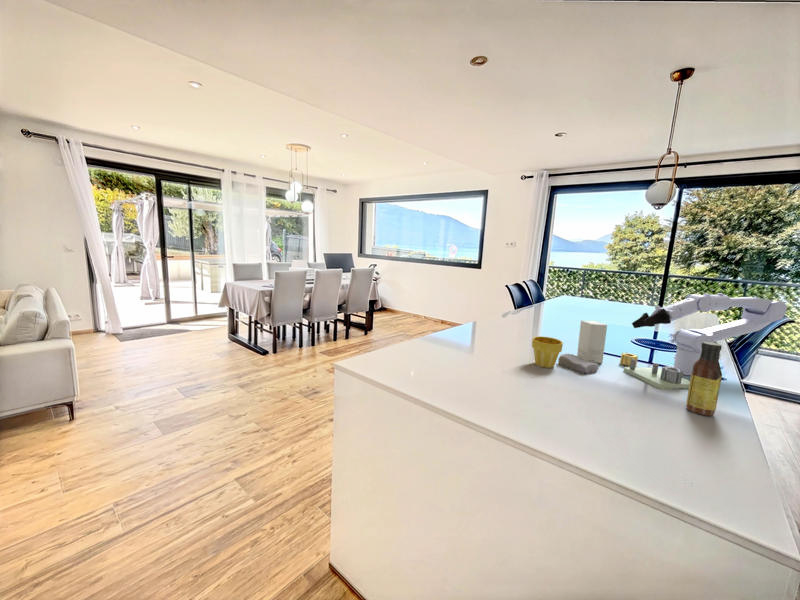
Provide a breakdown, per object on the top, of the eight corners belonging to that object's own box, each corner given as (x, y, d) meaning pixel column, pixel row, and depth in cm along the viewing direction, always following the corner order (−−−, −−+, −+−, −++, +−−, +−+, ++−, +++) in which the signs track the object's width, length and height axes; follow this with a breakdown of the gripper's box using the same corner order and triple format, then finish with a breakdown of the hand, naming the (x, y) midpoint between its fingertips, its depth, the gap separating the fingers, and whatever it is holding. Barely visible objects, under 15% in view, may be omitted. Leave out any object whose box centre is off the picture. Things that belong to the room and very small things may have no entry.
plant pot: (540, 370, 121) (543, 344, 119) (524, 360, 131) (527, 336, 129) (565, 369, 123) (569, 344, 122) (548, 360, 133) (551, 336, 132)
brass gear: (628, 362, 136) (630, 352, 135) (639, 367, 131) (641, 357, 130) (616, 362, 135) (618, 352, 134) (627, 367, 130) (629, 357, 129)
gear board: (657, 371, 127) (659, 356, 126) (696, 388, 112) (699, 371, 111) (623, 371, 125) (626, 355, 124) (658, 388, 110) (662, 371, 109)
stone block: (571, 365, 134) (555, 363, 130) (575, 354, 134) (558, 351, 129) (599, 377, 124) (582, 375, 119) (603, 365, 123) (586, 363, 119)
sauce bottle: (720, 418, 92) (736, 348, 88) (693, 415, 93) (708, 345, 89) (703, 407, 98) (718, 341, 95) (679, 404, 99) (692, 339, 96)
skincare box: (602, 363, 132) (608, 325, 130) (585, 362, 132) (591, 324, 130) (591, 356, 141) (596, 320, 138) (575, 355, 141) (580, 319, 138)
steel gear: (664, 376, 117) (667, 365, 117) (683, 382, 113) (685, 370, 112) (657, 378, 115) (659, 367, 114) (676, 384, 110) (678, 373, 110)
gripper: (657, 304, 132) (623, 317, 133) (682, 297, 118) (645, 311, 119) (666, 321, 131) (632, 333, 131) (693, 316, 117) (655, 330, 117)
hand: (639, 324), depth 125 cm, fingers open, 7 cm apart
